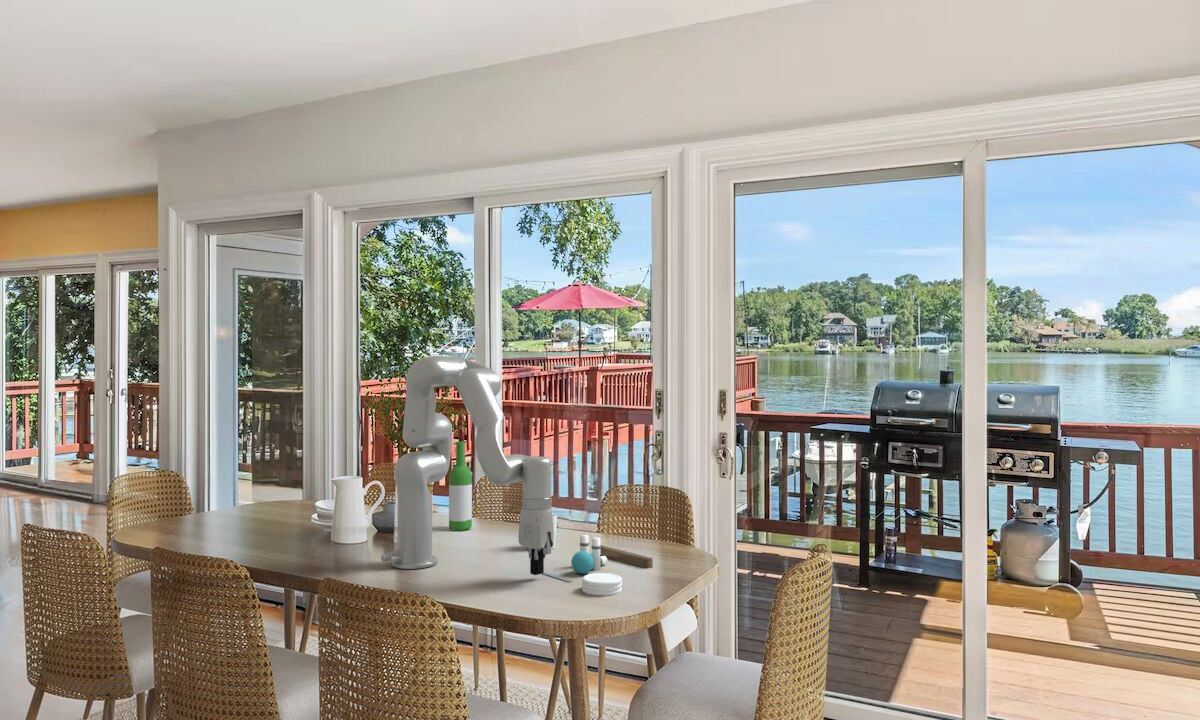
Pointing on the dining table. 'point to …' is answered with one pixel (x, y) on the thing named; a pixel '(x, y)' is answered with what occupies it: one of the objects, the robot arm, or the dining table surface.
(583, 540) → the pin back left
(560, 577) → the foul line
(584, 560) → the ball
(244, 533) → the dining table surface
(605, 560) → the pin front
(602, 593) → the coaster
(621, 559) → the backstop
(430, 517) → the robot arm
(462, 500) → the wine bottle
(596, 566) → the pin back right
